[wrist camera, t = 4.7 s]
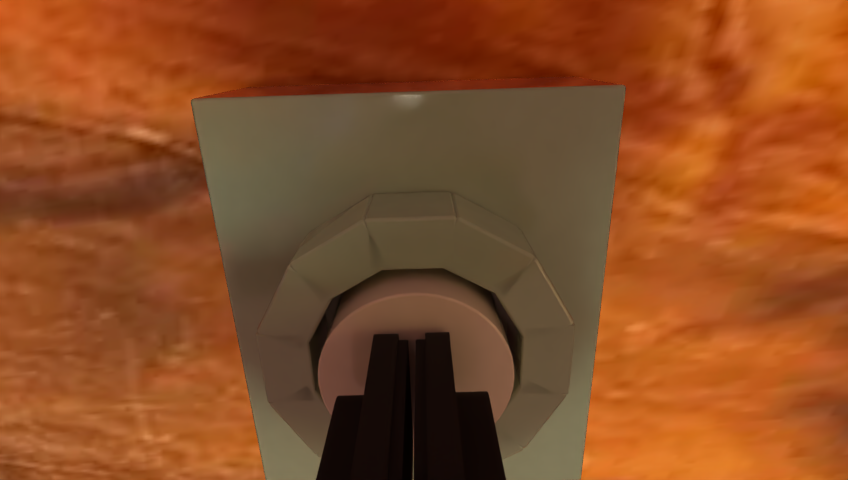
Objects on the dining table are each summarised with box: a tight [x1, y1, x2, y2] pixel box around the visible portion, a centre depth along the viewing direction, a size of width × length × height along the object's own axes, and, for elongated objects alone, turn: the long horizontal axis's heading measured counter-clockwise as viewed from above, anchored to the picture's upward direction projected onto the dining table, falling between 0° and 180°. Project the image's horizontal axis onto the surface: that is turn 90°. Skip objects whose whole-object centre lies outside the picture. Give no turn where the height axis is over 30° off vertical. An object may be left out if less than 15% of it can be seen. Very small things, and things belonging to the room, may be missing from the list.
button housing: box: [191, 76, 626, 480], centre depth 14 cm, size 12×10×6 cm
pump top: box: [318, 268, 515, 456], centre depth 12 cm, size 4×4×2 cm
